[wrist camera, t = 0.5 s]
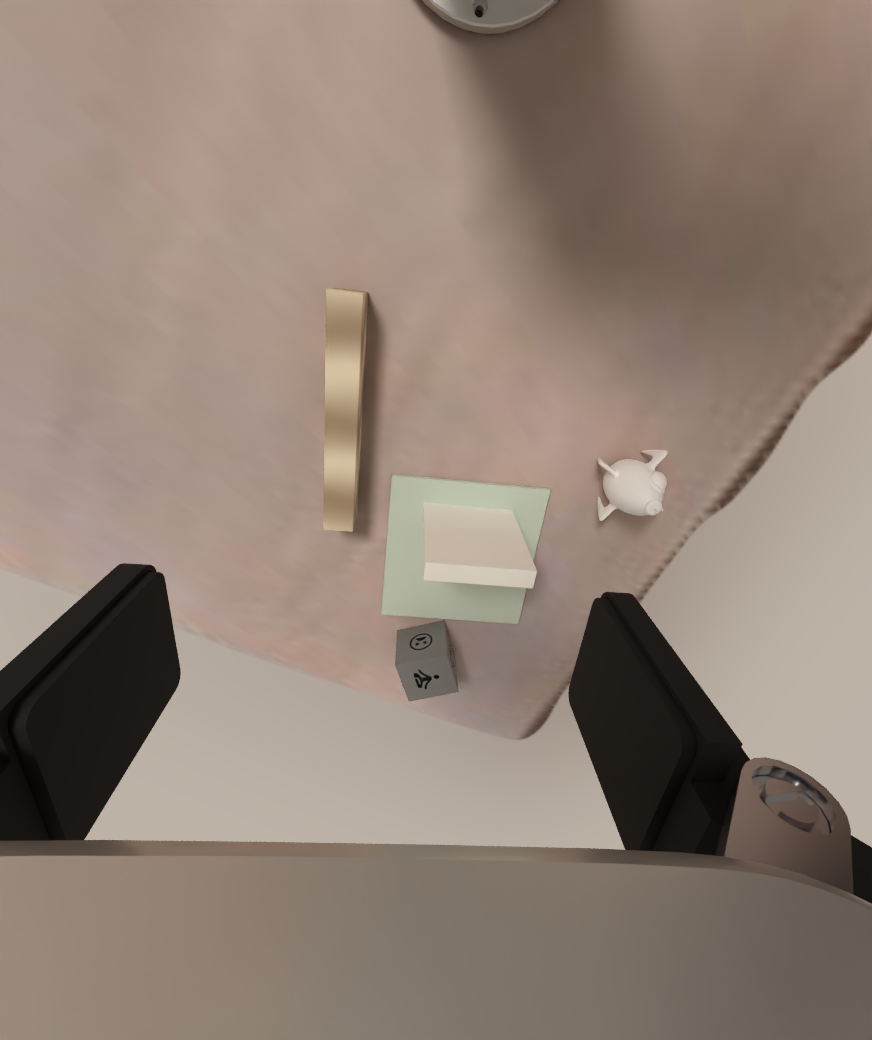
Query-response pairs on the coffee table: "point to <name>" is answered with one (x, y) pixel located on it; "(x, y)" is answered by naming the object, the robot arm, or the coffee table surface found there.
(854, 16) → the coffee table surface
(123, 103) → the coffee table surface
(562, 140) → the coffee table surface
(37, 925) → the robot arm
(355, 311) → the tan wavy bar
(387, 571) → the sage mat
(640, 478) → the rocket toy
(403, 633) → the dice cube
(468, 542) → the cream tile
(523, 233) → the coffee table surface
